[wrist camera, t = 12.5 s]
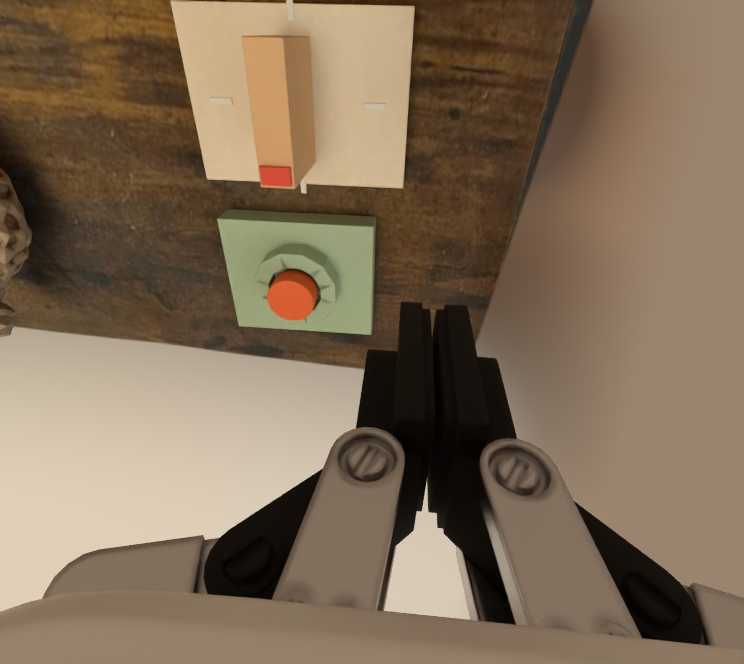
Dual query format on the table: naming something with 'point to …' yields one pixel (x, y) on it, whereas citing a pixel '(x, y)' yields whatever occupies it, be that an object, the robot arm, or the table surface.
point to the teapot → (10, 245)
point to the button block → (302, 266)
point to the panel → (329, 85)
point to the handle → (281, 107)
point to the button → (292, 295)
